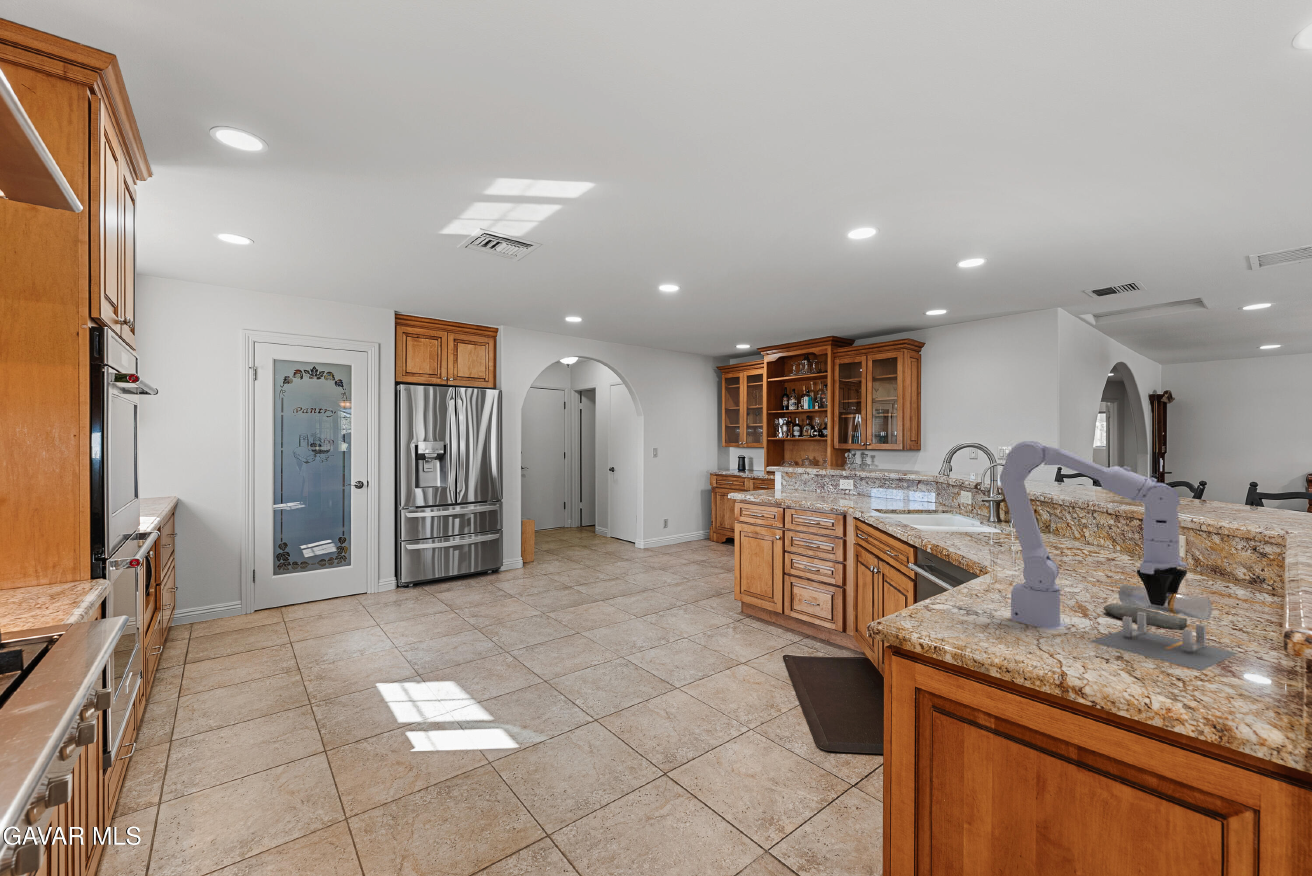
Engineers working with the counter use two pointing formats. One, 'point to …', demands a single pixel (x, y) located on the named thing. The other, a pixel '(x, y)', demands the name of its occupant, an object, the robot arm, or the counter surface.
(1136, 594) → the tube
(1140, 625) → the collar
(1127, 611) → the stone
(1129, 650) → the board
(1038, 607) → the robot arm
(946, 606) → the counter surface
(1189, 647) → the collar
